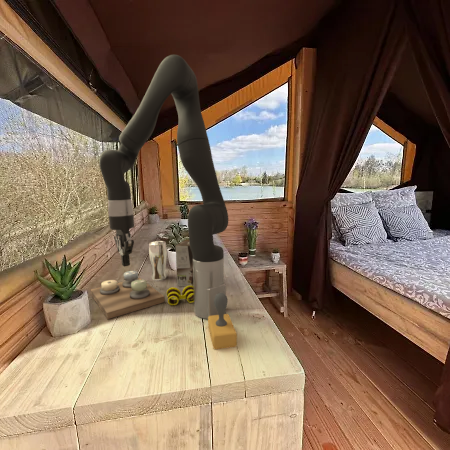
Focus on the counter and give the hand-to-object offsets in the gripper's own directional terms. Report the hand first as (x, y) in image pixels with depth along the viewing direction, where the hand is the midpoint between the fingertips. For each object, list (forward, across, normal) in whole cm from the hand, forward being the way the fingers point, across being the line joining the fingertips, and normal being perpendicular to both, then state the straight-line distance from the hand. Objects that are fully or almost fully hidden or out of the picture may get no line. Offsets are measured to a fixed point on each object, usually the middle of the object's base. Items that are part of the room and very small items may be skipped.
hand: (126, 265), depth 91 cm
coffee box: (+13, +1, -24) cm, 27 cm away
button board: (+12, +2, 0) cm, 12 cm away
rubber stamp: (+14, -37, -11) cm, 41 cm away
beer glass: (+12, +13, -17) cm, 25 cm away
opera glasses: (+13, -12, -14) cm, 22 cm away
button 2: (+8, -3, -3) cm, 9 cm away
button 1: (+9, +7, +4) cm, 12 cm away
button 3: (+7, +8, -4) cm, 12 cm away
